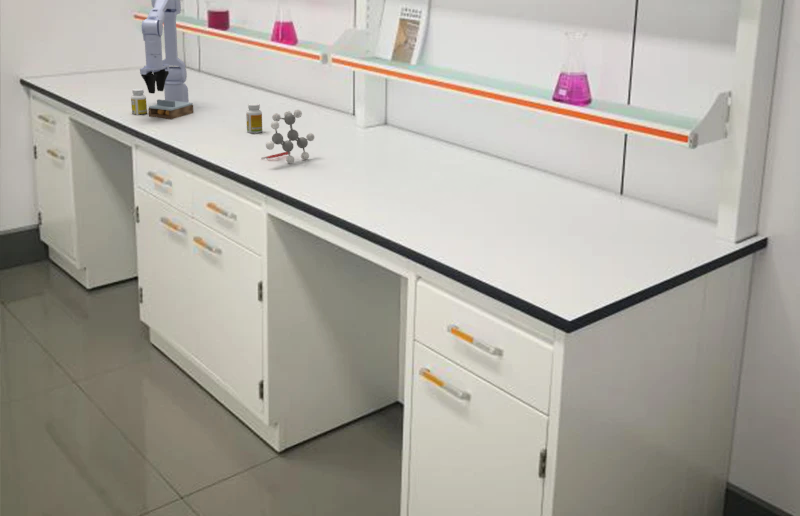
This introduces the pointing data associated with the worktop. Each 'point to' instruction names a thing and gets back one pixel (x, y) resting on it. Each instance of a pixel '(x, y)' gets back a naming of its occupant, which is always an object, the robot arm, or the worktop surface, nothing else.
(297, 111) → the molecule model
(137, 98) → the supplement bottle
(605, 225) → the worktop surface
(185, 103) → the lid
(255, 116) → the supplement bottle
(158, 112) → the ball
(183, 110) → the case
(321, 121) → the worktop surface
